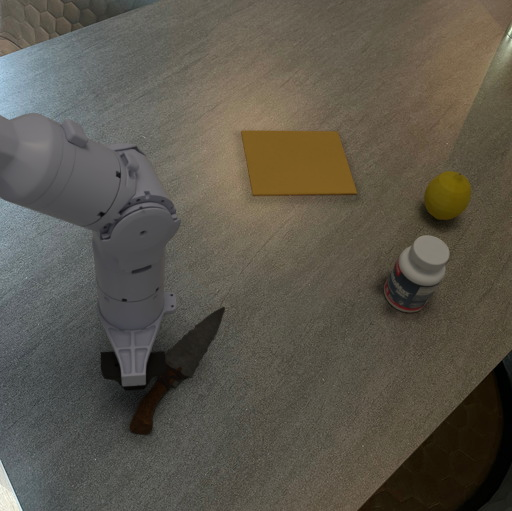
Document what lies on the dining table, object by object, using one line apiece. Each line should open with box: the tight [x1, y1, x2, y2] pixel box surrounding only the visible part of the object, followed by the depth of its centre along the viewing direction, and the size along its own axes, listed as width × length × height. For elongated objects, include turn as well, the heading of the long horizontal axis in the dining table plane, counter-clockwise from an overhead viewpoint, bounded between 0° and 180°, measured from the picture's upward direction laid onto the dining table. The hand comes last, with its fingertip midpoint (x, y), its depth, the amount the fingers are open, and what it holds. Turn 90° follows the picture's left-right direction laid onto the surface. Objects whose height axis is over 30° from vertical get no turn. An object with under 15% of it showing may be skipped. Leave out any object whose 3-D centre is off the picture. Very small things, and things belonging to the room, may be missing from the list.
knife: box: [128, 306, 226, 435], centre depth 64 cm, size 17×2×5 cm
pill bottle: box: [383, 234, 451, 313], centre depth 70 cm, size 5×5×9 cm
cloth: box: [240, 130, 358, 197], centre depth 85 cm, size 14×12×1 cm
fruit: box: [423, 170, 472, 221], centre depth 79 cm, size 6×6×8 cm
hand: (133, 351), depth 64 cm, fingers open, 7 cm apart
